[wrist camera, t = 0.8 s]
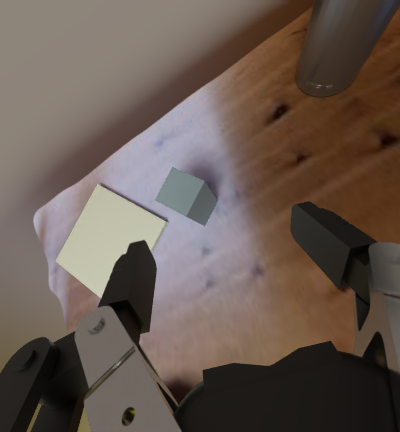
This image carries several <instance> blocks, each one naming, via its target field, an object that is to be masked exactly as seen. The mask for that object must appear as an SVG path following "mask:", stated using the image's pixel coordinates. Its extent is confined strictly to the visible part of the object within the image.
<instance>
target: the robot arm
mask: <svg viewBox="0 0 400 432" xmlns="http://www.w3.org/2000/svg"><path fill="white" fill-rule="evenodd" d="M399 6H400V0H315V2H314V6H313V10H312V13H311V17H310V21H309V25H308V29H307V32H306V36H305V40H304V44H303V48H302V51H301V55H300V59H299V63H298V67H297V71H296V83H297V85H298V87H299V88H300V89H301V90H302V91H303V92H305V93H306V94H309V95H312V96H317V97H327V96H331V95H335V94H337V93H340V92H341V91H343V90H345V89H346V88H347V87H349V86H350V85H351V83H352V82H353V81H354V79H355V78H356V76H357V74H358V73H359V71H360V70H361V68H362V66H363V65H364V63H365V61H366V60H367V58H368V57H369V55H370V54H371V52H372V50H373V49H374V47H375V45H376V44H377V42H378V41H379V39H380V37H381V36H382V34H383V32H384V31H385V29H386V28H387V26H388V24H389V23H390V21H391V19H392V18H393V16H394V15H395V13H396V11H397V10H398V8H399ZM291 233H292V236H293V238H294V240H295V241H296V242H297V243H298V244H299V245H300V246H301V247H302V249H303V250H304V251H305V252H306V253H307V254H308V255H309V256H310V258H311V259H312V260H313V261H314V262H315V263H316V264H317V265H318V266H319V268H320V269H321V270H322V271H323V272H324V273H325V274H326V275H327V277H328V278H329V279H330V280H331V281H332V282H333V283H334V284H335V286H336V287H337V288H338V289H341V288H346V287H351V288H352V289H353V290H354V291H353V294H352V299H353V315H354V331H355V340H354V346H353V354H350V353H346V352H341V351H337V350H336V348H335V347H334V345H333V344H332V342H331V341H328V342H324V343H319V344H315V345H311V346H306V347H302V348H299V349H297V350H295V351H294V352H292V353H291V354H289V355H287V356H286V357H284V358H283V359H281V360H279V361H278V362H276V363H275V364H273V365H271V366H262V365H251V364H239V363H232V364H227V365H223V366H218V367H214V368H210V369H205V370H203V381H202V382H200V383H199V384H197V385H196V386H195V387H194V388H193V389H191V391H190V392H189V393H188V394H187V395H186V396H185V397H184V398H183V400H182V401H181V403H180V404H179V405H178V403H177V402H176V400H175V399H174V397H173V396H172V394H171V392H170V391H169V390H168V388H167V387H166V385H165V384H164V382H163V381H162V379H161V378H160V376H159V374H158V373H157V371H156V369H155V368H154V366H153V365H152V363H151V361H150V360H149V358H148V357H147V355H146V353H145V352H144V350H143V348H142V347H141V345H140V344H139V340H140V334H142V333H146V332H149V330H150V322H151V314H152V305H153V297H154V289H155V280H156V272H157V268H156V263H155V260H154V257H153V255H152V253H151V251H150V249H149V247H148V244H147V242H146V241H145V240H141V241H137V242H133V243H130V244H129V246H128V249H127V252H126V254H123V255H121V256H120V258H119V259H118V260H117V261H116V262H115V265H114V267H113V270H112V273H111V275H110V277H109V280H108V282H107V285H106V287H105V290H104V293H103V295H102V298H101V300H100V303H99V305H98V308H96V309H94V310H93V311H91V312H90V313H89V314H87V315H86V316H85V317H84V318H83V319H82V321H81V322H80V323H79V325H78V327H77V329H76V331H74V332H73V333H71V334H69V335H67V336H65V337H63V338H61V339H59V340H58V341H56V342H54V343H52V342H51V341H50V340H49V339H47V338H45V337H41V338H37V339H34V340H32V341H30V342H29V343H27V344H26V345H24V346H23V347H22V348H20V349H19V350H18V351H17V352H16V353H15V354H14V355H13V356H12V357H11V359H10V360H9V361H8V362H7V364H6V365H5V367H4V368H3V370H2V372H1V373H0V432H26V431H27V429H28V427H29V424H30V422H31V419H32V417H33V415H34V413H35V410H36V408H37V406H38V403H39V404H41V405H42V406H41V408H40V410H39V413H38V415H37V418H36V420H35V423H34V425H33V428H32V430H31V432H77V431H78V427H79V423H80V419H81V416H82V412H83V408H84V406H85V410H86V414H87V418H88V422H89V426H90V430H91V432H400V244H396V243H391V242H377V241H375V240H374V239H372V238H371V237H370V236H368V235H367V234H365V233H364V232H362V231H361V230H359V229H358V228H356V227H355V226H353V225H352V224H349V222H347V221H346V220H344V219H342V218H341V217H340V216H338V215H337V214H335V213H334V212H331V211H329V210H326V209H323V208H318V207H317V206H316V205H314V204H313V203H311V202H309V201H308V202H304V203H300V204H295V205H293V207H292V215H291ZM88 390H89V391H88Z"/></svg>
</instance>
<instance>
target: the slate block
mask: <svg viewBox="0 0 400 432" xmlns="http://www.w3.org/2000/svg"><path fill="white" fill-rule="evenodd" d="M155 201H157V202H159V203H161V204H163V205H165V206H167V207H169V208H171V209H173V210H175V211H177V212H178V213H180V214H182V215H184V216H186V217H188V218H190V219H192V220H194V221H196V222H198V223H200V224H202V225H204V226H205V225H206V223H207V221H208V219H209V217H210V215H211V213H212V211H213V209H214V207H215V205H216V203H217V201H218V200H217V199H216V197H215V196H214V194H213V193H212V191H211V190H210V188H209V187H208V185H207V184H206V182H205V181H204V180H201V179H199V178H197V177H194V176H192V175H190V174H187V173H185V172H183V171H181V170H178V169H176V168H174V167H172V169H171V171H170V173H169V175H168V176H167V178H166V180H165V182H164V184H163V186H162V188H161V190H160V192H159V193H158V195H157V197H156V199H155Z"/></svg>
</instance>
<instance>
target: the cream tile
mask: <svg viewBox="0 0 400 432" xmlns="http://www.w3.org/2000/svg"><path fill="white" fill-rule="evenodd" d="M167 224H168V222H167V221H165V220H163V219H161V218H159V217H157V216H156V215H154V214H152V213H150V212H148V211H147V210H145V209H143V208H141V207H139V206H137V205H136V204H134V203H132V202H130V201H128V200H126V199H125V198H123V197H121V196H119V195H117V194H116V193H114V192H112V191H110V190H108V189H106V188H105V187H103V186H101V185H99V184H97V186H96V188H95V190H94V192H93V194H92V195H91V197H90V199H89V201H88V203H87V205H86V206H85V208H84V210H83V212H82V214H81V216H80V217H79V219H78V221H77V223H76V225H75V227H74V228H73V230H72V232H71V234H70V236H69V238H68V239H67V241H66V243H65V245H64V247H63V249H62V250H61V252H60V254H59V256H58V258H57V260H56V262H57V263H59V264H60V265H61V266H62V267H63V268H65V269H66V270H67V271H68V272H70V273H71V274H72V275H73V276H74V277H76V278H77V279H78V280H79V281H81V282H82V283H83V284H84V285H85V286H87V287H88V288H89V289H90V290H92V291H93V292H94V293H95V294H96V295H98V296H99V297H100V298H102V295H103V293H104V290H105V287H106V285H107V282H108V280H109V277H110V275H111V273H112V270H113V267H114V265H115V262H116V261H117V260H118V259H119V258H120V256H121V255H123V254H126V252H127V249H128V246H129V244H130V243H133V242H137V241H141V240H145V241H146V242H147V244H148V247H149V249H150V251H151V253H153V251H154V249H155V247H156V245H157V243H158V241H159V239H160V237H161V236H162V234H163V232H164V230H165V228H166V226H167Z"/></svg>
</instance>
